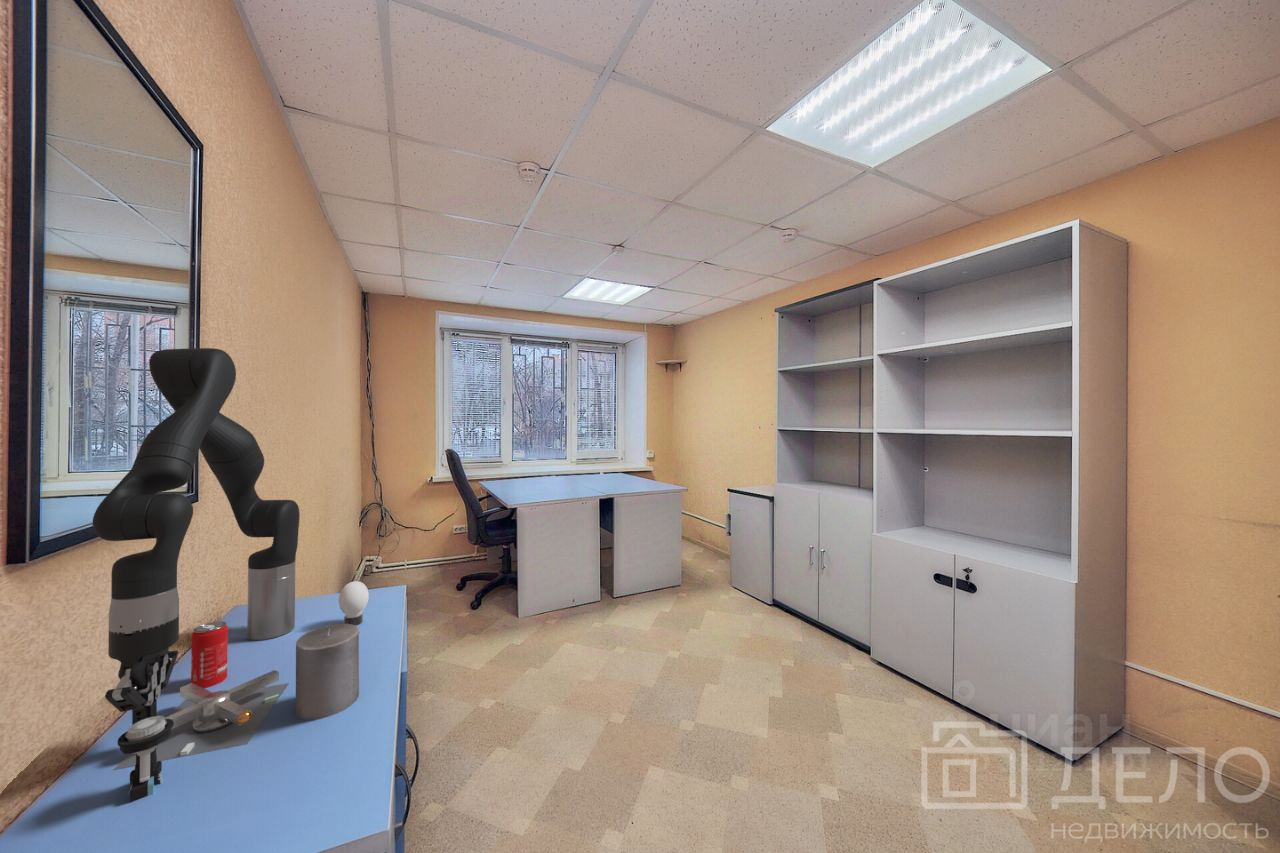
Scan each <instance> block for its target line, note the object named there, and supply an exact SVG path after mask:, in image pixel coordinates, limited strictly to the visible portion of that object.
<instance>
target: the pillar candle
mask: <svg viewBox="0 0 1280 853" xmlns="http://www.w3.org/2000/svg"><path fill="white" fill-rule="evenodd" d="M359 631H360V630H359V627H358V626H357V625H351V624H344V623H337V624H332V625H331V624H329V625H326V626H322V627H318V628H316V629H315V628H314V629H312V630H310V631H308V632H306V633H304V634H303V635H301V636H300V637H299V638H298V639H297V640H296V643H295V715H296V717H297V718H299V719H301V720H304V721H305V720H306V721H307V720H308V721H309V720H310V721H311V720H313V721H314V720H315V721H316V720H320V719H325V718H328V717H331V716H334V715H336V714H339V713H341V712H343V711H346V710H347V709H348V708H349V707H351V706H352V705H353V704H354V703H356V702H357V700H358V698H359V694H360V666H359V665H360V661H359V660H360V649H359V648H360V647H359V642H360V635H359V634H360V632H359Z"/></svg>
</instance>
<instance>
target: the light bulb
mask: <svg viewBox="0 0 1280 853" xmlns="http://www.w3.org/2000/svg"><path fill="white" fill-rule="evenodd" d="M369 598H370V594H369V589H368V587H367V586H366V584H365V583H363V582H361V581H360V580H359V581H357V580H355V581H354V580H353V581H351V582H349V583H347V584H346V585H345V586H344V587H343V588H342V589H341V591H340V593H339V597H338V607H339V609H340V610H341V612H342V613H343V614H344V617H343V624H351V625H355V626H357V625H361V624H362V623H363V615H364V614H363V613H364V612H363V611H364V610H365V608H366V607H367V605H368V602H369Z"/></svg>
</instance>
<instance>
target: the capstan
mask: <svg viewBox="0 0 1280 853" xmlns="http://www.w3.org/2000/svg"><path fill="white" fill-rule="evenodd" d="M278 681H280V672H279V671H277V670H275V669H273V670H271V671H269V672H266V673H264V674H262V675H260V676H258V677H255V678H253V679H251V680H248V681H246V682H244V683H241V684H239V685H237V686H235V687H232V688H229V689H228V690H226V689H225V690H224V689H222V690H217V691H210V690H208V689H206V688H202V687H200V686H197V685H195V684H193V683H191V682H190V683H188V684H185V685H183V686H181V687H179V697H181V698H183V699H184V700H188V701H190V702H192V703H194V704H195V705H193V706H191V707H188V708H186V709H184V710H181V711H179V712H177V713H175V714H172V715H170V714H169V715H170V716H169V715H168V716H166V717H165V716H164V718H165V719H171V720H173V722H174V725H173V727H172V729H174V728H176V727H178V726H180V725H182V724H185V723H187V722H189V721H191V720H193V719H195V718H196V719H195V720H194V722H193V732H194V733H197V734H204V733H210V732H214V731H217V730H220V729H222V728H225V727H227V726H229V725H231V724H232V723H235V724H237V725H239V726H240V725H242V724H246V723H247V722H249V721H250V720H251V718H252V712H251V710H250V709H248V708H245V707H243V706H241V705H239V704H237V703H235V702H233V701H235V700H237V699H239V698H241V697H243V696H246V695H248V694H250V693H252V692H254V691H257V690H259V689H261V688H263V687H268V686H271V685H272V684H273V683H274V684H275V683H276V682H278Z"/></svg>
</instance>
